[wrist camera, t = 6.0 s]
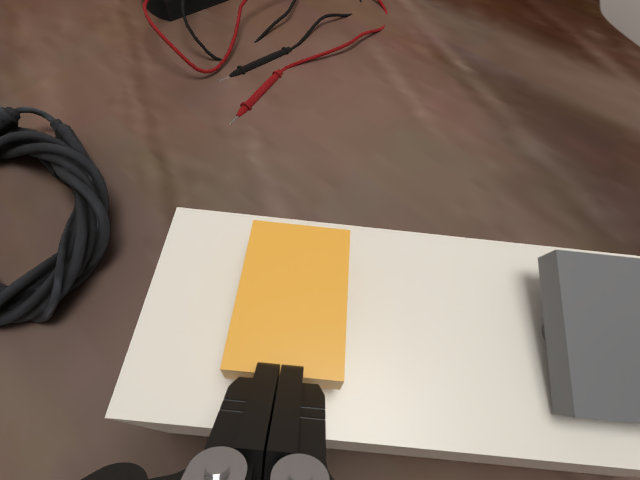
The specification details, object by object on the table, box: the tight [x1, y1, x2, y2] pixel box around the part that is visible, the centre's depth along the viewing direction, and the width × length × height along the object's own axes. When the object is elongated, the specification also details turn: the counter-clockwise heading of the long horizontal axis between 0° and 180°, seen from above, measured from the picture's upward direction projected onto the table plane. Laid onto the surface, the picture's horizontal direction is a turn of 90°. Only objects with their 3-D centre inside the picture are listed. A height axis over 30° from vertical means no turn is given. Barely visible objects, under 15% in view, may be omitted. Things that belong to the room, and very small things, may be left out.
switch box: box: [105, 207, 640, 477], centre depth 19 cm, size 24×9×8 cm, turn 85°
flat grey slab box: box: [538, 250, 640, 424], centre depth 14 cm, size 4×6×2 cm, turn 175°
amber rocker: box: [220, 220, 350, 390], centre depth 14 cm, size 4×6×2 cm, turn 175°
